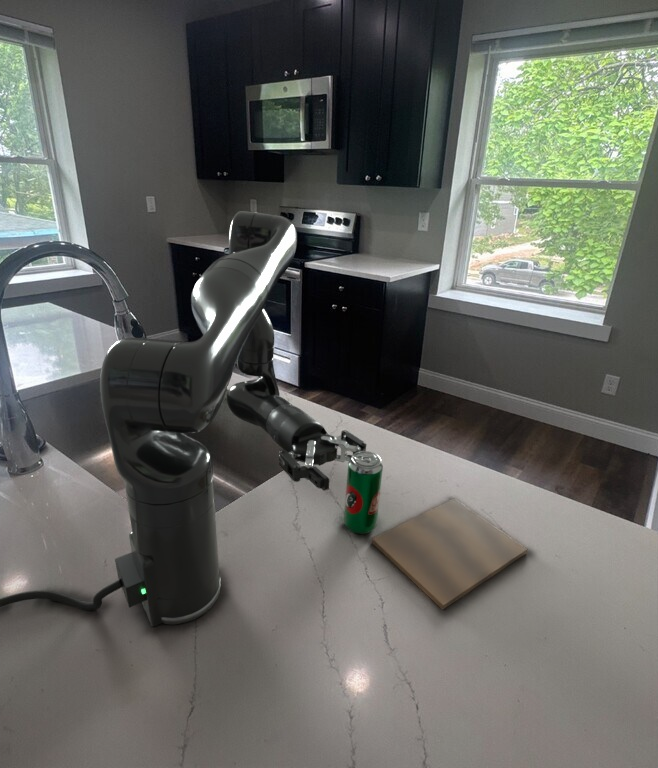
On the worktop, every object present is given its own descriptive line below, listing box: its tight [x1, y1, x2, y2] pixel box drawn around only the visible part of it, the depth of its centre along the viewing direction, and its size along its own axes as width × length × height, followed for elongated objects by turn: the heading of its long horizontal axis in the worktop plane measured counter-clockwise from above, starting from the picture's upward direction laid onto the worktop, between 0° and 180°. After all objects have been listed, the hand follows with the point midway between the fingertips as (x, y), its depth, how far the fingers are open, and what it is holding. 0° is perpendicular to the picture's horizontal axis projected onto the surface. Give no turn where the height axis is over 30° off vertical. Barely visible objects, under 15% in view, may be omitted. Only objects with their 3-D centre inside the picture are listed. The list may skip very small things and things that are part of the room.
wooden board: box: [371, 498, 528, 611], centre depth 68 cm, size 18×14×1 cm
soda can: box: [343, 450, 384, 535], centre depth 70 cm, size 5×5×12 cm
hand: (350, 476), depth 72 cm, fingers open, 8 cm apart
